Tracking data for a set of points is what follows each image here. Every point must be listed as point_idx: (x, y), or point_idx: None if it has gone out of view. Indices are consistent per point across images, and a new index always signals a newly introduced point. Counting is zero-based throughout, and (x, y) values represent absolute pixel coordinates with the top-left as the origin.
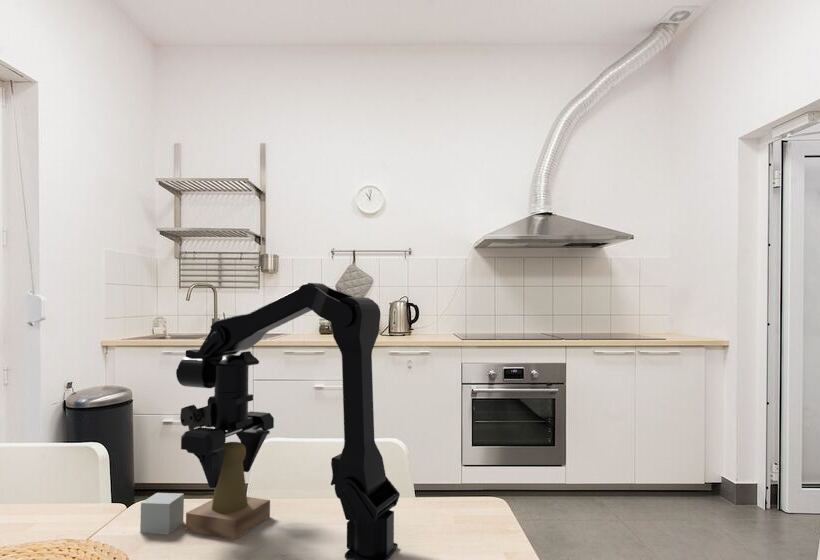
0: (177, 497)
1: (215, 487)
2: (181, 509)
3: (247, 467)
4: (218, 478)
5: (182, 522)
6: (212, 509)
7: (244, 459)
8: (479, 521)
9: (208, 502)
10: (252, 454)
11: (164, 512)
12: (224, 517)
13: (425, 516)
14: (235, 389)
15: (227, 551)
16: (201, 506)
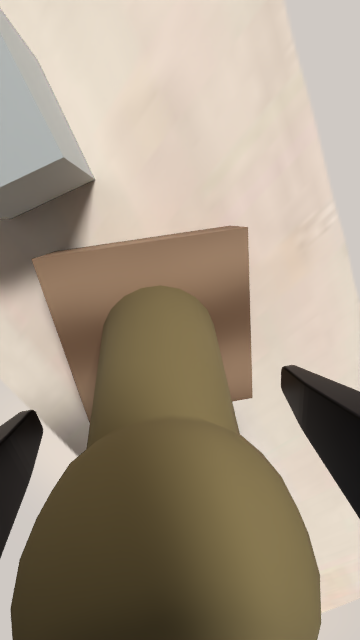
0: (8, 176)
1: (40, 430)
2: (67, 178)
3: (292, 401)
4: (24, 485)
5: (90, 181)
6: (106, 318)
7: (322, 411)
8: (331, 589)
9: (148, 249)
10: (344, 485)
11: None
12: (89, 388)
13: (330, 548)
14: None
15: (52, 419)
16: (106, 258)
